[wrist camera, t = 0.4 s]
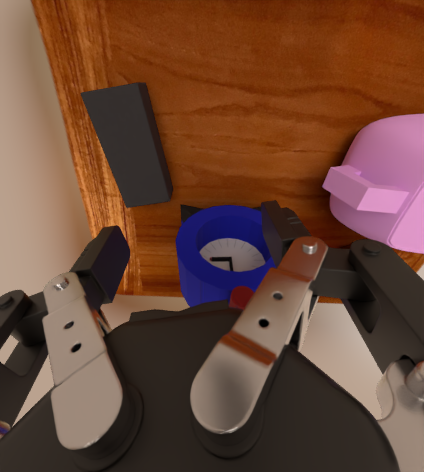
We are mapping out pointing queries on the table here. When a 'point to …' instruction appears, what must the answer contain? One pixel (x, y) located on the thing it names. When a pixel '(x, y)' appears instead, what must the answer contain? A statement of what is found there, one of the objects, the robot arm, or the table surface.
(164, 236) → the table surface
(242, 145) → the table surface
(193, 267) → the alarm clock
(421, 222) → the teapot
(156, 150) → the black rectangular block
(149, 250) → the table surface
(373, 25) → the table surface
